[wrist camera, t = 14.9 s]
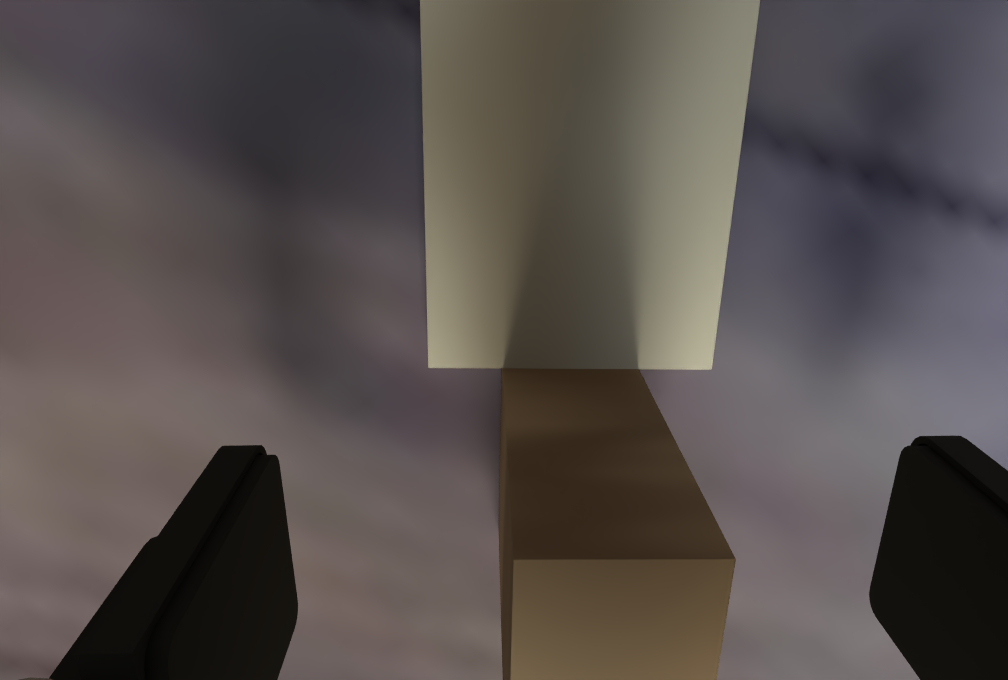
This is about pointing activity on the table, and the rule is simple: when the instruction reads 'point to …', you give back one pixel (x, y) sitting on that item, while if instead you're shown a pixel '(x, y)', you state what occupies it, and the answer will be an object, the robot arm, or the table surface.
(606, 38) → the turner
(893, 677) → the table surface
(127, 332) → the table surface
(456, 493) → the table surface
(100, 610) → the robot arm
